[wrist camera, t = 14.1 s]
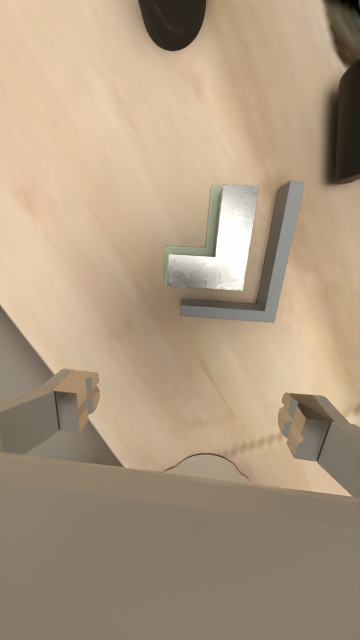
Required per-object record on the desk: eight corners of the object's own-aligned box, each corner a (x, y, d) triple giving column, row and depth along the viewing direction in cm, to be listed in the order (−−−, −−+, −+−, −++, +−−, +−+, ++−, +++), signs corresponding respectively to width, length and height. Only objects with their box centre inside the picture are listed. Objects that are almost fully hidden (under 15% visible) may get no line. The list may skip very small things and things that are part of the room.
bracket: (248, 196, 29) (258, 186, 24) (235, 284, 32) (242, 290, 28) (174, 192, 29) (171, 181, 24) (171, 280, 33) (167, 285, 28)
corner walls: (265, 314, 34) (274, 322, 30) (181, 308, 34) (179, 315, 31) (289, 190, 28) (304, 181, 24) (189, 185, 29) (188, 175, 25)
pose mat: (239, 290, 33) (240, 290, 33) (164, 285, 33) (163, 285, 33) (255, 188, 28) (256, 187, 28) (167, 184, 29) (167, 183, 29)
